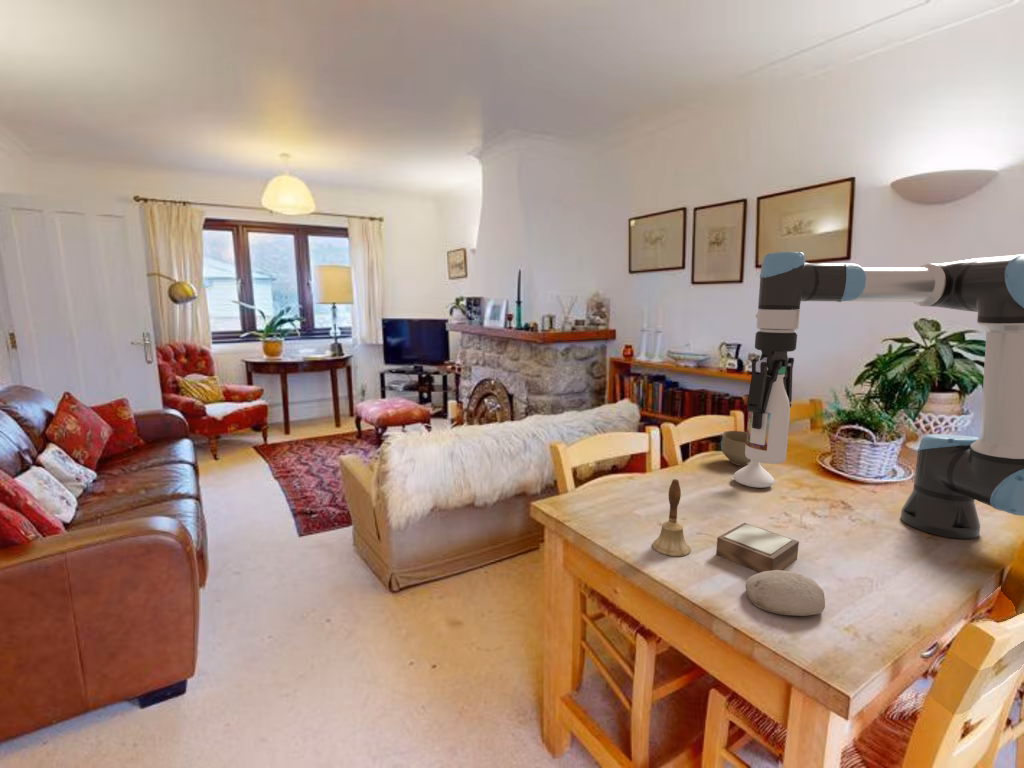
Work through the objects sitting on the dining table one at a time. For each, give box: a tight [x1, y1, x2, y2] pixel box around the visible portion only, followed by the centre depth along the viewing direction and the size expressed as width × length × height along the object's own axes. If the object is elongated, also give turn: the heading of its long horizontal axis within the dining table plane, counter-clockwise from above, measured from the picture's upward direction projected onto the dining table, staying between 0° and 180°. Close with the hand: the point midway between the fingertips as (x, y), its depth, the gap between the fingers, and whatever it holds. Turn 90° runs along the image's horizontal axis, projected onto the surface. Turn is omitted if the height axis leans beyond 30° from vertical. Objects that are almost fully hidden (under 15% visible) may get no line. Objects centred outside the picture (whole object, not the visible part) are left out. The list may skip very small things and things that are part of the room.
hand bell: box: [651, 478, 692, 557], centre depth 114 cm, size 8×8×16 cm
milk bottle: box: [745, 366, 791, 465], centre depth 106 cm, size 8×8×20 cm
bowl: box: [720, 430, 751, 466], centre depth 174 cm, size 13×13×10 cm
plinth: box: [716, 522, 800, 573], centre depth 111 cm, size 12×12×4 cm
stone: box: [745, 569, 826, 617], centre depth 95 cm, size 13×10×8 cm
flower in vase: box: [732, 460, 775, 489], centre depth 153 cm, size 13×11×25 cm
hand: (766, 439), depth 107 cm, fingers closed on milk bottle, 8 cm apart
